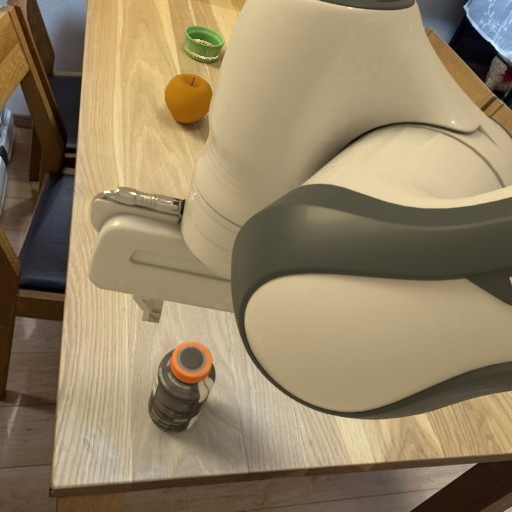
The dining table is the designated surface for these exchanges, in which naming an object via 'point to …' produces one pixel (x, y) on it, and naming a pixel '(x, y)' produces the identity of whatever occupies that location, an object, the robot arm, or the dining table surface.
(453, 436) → the dining table surface
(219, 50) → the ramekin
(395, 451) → the dining table surface
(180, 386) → the pill bottle
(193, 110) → the apple
